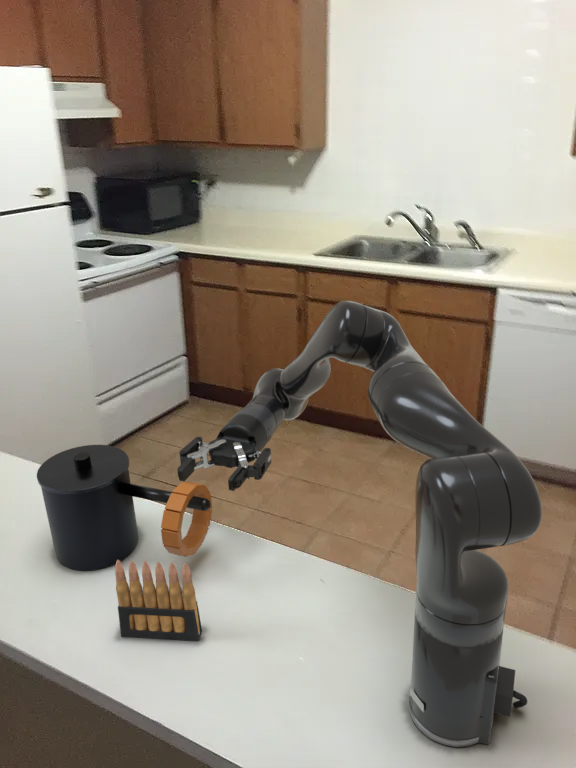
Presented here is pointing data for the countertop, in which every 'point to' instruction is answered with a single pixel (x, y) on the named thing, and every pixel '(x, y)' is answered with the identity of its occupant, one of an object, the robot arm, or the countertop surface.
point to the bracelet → (175, 517)
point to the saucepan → (95, 505)
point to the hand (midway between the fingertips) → (205, 480)
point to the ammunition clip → (157, 604)
